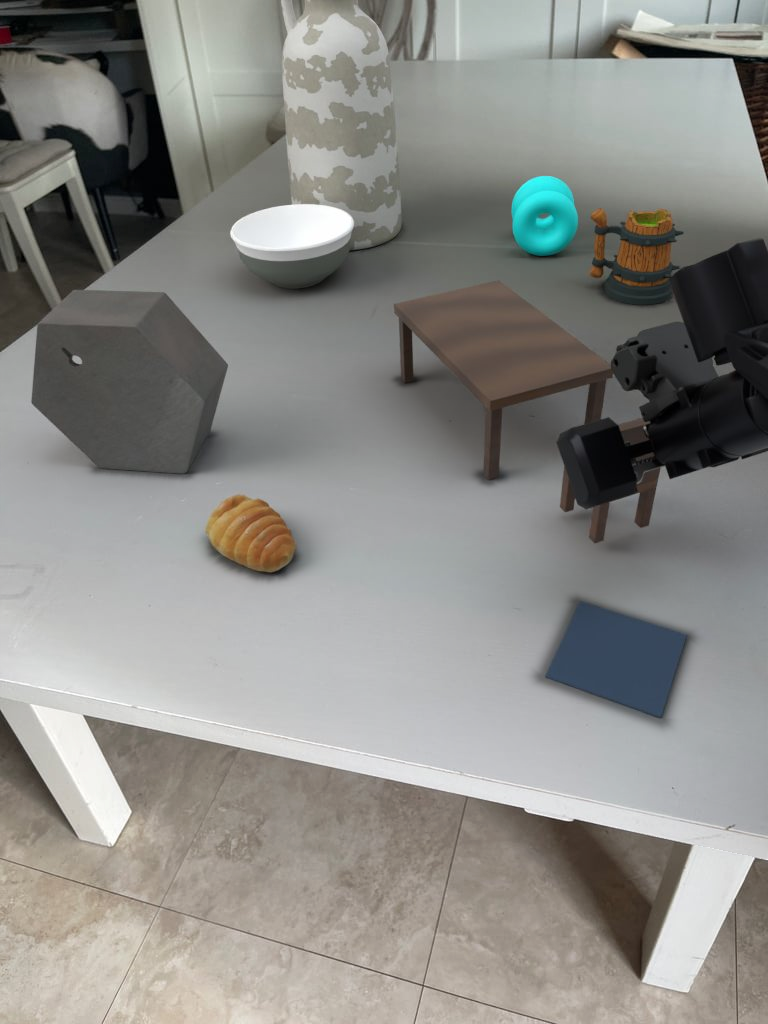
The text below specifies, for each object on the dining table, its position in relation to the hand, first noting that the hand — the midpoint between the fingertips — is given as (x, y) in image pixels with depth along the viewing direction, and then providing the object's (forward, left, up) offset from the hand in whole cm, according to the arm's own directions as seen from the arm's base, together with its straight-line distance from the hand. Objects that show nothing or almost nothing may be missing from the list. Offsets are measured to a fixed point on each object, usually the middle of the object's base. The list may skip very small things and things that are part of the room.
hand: (620, 461), depth 72 cm
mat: (-5, +15, -8) cm, 18 cm away
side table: (+18, -15, -8) cm, 25 cm away
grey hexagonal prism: (+50, +8, -8) cm, 51 cm away
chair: (+1, -1, -7) cm, 7 cm away
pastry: (+30, +16, -8) cm, 35 cm away
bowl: (+60, -39, -8) cm, 72 cm away
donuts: (+29, -64, -8) cm, 71 cm away
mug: (+12, -53, -8) cm, 55 cm away
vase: (+63, -59, -8) cm, 87 cm away
